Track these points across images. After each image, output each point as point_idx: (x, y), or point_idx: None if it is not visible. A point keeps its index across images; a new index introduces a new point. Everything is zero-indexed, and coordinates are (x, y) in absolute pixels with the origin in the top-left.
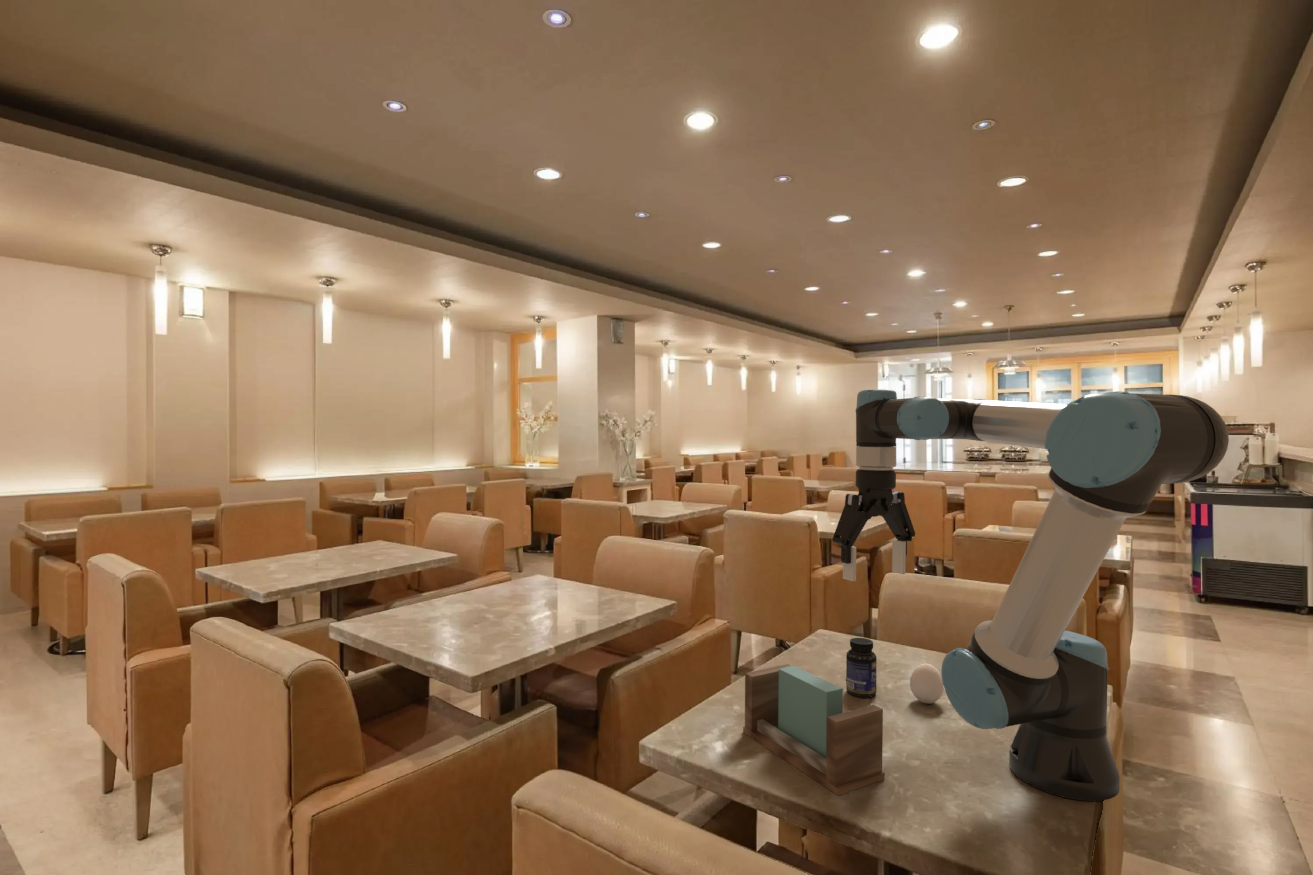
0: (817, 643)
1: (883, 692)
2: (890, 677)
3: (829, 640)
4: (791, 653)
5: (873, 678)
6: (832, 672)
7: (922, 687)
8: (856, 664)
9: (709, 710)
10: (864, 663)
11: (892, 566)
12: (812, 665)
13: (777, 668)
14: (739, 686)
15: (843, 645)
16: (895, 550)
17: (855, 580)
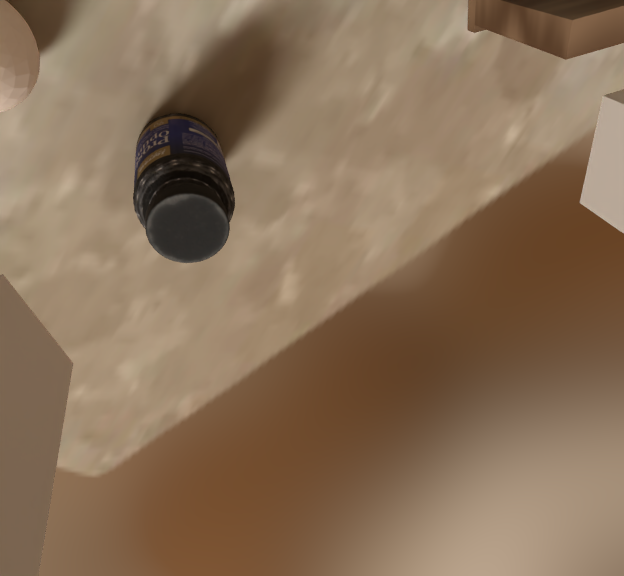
0: (145, 429)
1: (109, 142)
2: (36, 236)
3: (106, 444)
4: (235, 382)
5: (160, 136)
6: (192, 282)
7: (9, 9)
8: (220, 166)
9: (567, 130)
10: (198, 155)
11: (64, 398)
12: (221, 322)
13: (620, 28)
14: (439, 235)
15: (83, 421)
16: (10, 545)
17: (611, 97)
